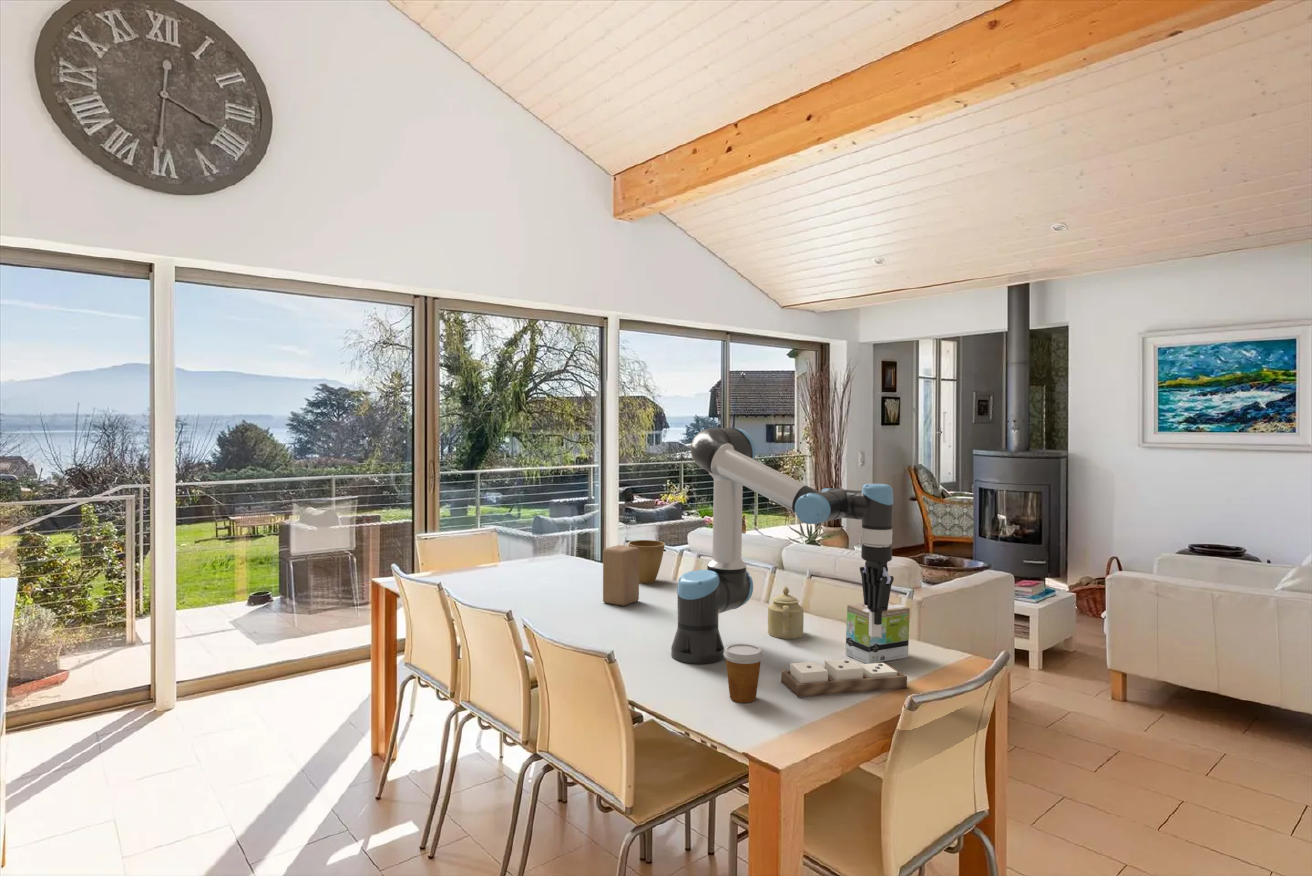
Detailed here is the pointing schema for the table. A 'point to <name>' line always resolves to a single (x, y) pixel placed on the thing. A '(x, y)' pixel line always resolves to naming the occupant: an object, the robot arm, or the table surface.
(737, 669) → the disposable coffee cup
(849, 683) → the board
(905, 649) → the tea box
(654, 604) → the table surface
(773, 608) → the beige teapot
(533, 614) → the table surface
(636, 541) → the plant pot
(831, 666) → the tile
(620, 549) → the block
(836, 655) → the table surface
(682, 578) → the robot arm
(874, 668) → the tile
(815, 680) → the tile
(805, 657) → the table surface
